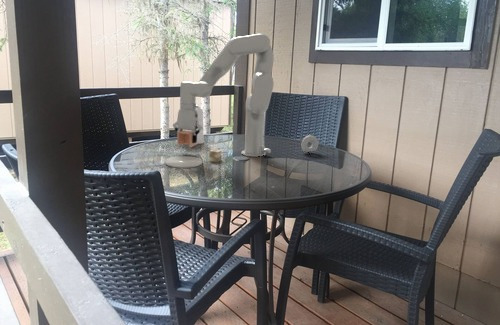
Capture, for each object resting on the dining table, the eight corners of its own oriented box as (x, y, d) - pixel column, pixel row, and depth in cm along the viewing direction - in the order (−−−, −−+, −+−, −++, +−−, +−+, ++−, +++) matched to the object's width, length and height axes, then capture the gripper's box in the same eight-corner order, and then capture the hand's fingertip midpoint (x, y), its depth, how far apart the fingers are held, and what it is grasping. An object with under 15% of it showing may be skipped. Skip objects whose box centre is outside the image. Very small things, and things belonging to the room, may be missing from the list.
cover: (196, 144, 214) (197, 131, 212) (190, 147, 207) (190, 133, 205) (184, 143, 216) (184, 129, 214) (177, 145, 209) (177, 131, 208)
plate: (208, 161, 200) (208, 158, 199) (191, 169, 184) (191, 166, 184) (176, 157, 205) (176, 154, 205) (158, 164, 189) (158, 162, 189)
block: (221, 160, 203) (221, 150, 202) (217, 162, 199) (218, 152, 198) (213, 159, 204) (213, 149, 203) (209, 161, 200) (209, 151, 199)
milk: (177, 140, 246) (177, 95, 240) (196, 139, 251) (196, 95, 245) (184, 144, 236) (184, 98, 229) (203, 143, 241) (204, 97, 235)
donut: (315, 152, 229) (316, 134, 227) (318, 153, 226) (320, 135, 224) (299, 153, 226) (300, 134, 223) (302, 154, 222) (303, 136, 220)
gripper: (207, 107, 208) (206, 142, 212) (175, 104, 213) (175, 138, 217) (200, 109, 201) (199, 145, 205) (168, 105, 206) (168, 141, 210)
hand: (187, 141), depth 211 cm, fingers closed on cover, 7 cm apart
